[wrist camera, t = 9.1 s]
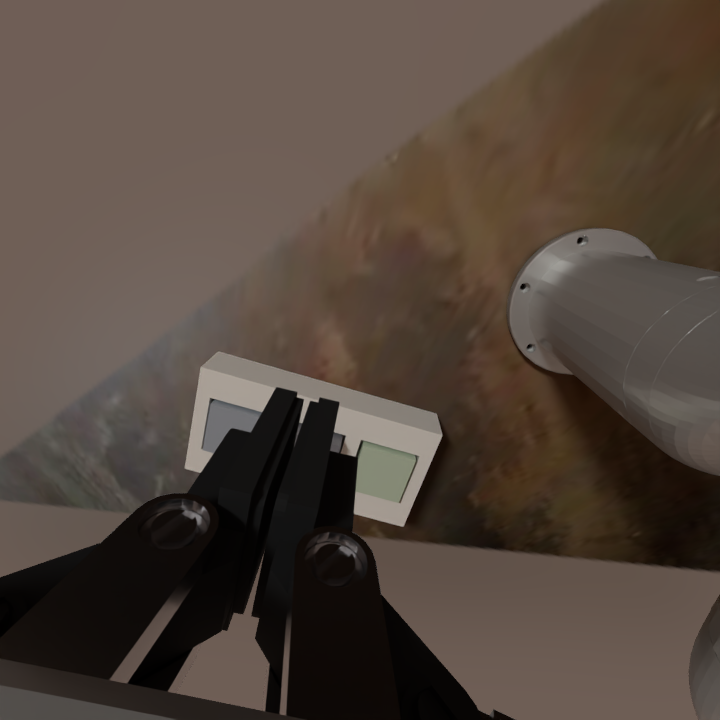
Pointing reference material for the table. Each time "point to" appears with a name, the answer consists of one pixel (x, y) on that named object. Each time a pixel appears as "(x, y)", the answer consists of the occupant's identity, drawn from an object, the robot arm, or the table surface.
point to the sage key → (383, 471)
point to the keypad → (354, 422)
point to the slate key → (227, 422)
